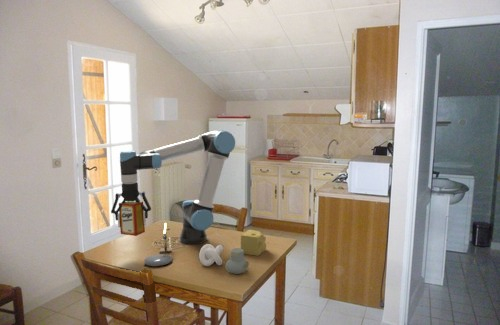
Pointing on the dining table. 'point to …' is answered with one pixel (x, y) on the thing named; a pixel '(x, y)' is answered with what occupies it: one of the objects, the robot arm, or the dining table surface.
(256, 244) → the cheese
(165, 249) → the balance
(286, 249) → the dining table surface
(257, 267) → the dining table surface
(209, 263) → the white knot sculpture
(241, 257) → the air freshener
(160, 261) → the plate
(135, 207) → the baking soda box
